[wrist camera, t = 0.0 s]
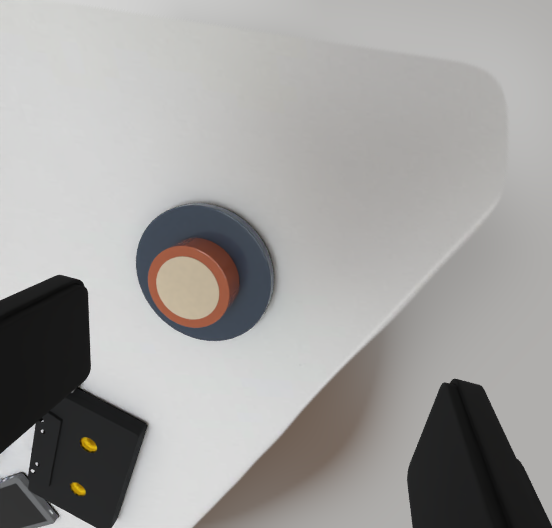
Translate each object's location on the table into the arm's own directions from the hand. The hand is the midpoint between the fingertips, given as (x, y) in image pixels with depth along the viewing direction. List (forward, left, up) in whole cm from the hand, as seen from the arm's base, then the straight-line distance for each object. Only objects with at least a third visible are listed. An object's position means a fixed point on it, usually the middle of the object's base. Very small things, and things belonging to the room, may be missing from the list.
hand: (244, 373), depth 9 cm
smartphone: (+20, -56, -20) cm, 63 cm away
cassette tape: (+15, -37, -20) cm, 44 cm away
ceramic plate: (0, -11, -20) cm, 23 cm away
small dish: (0, -11, -18) cm, 21 cm away
